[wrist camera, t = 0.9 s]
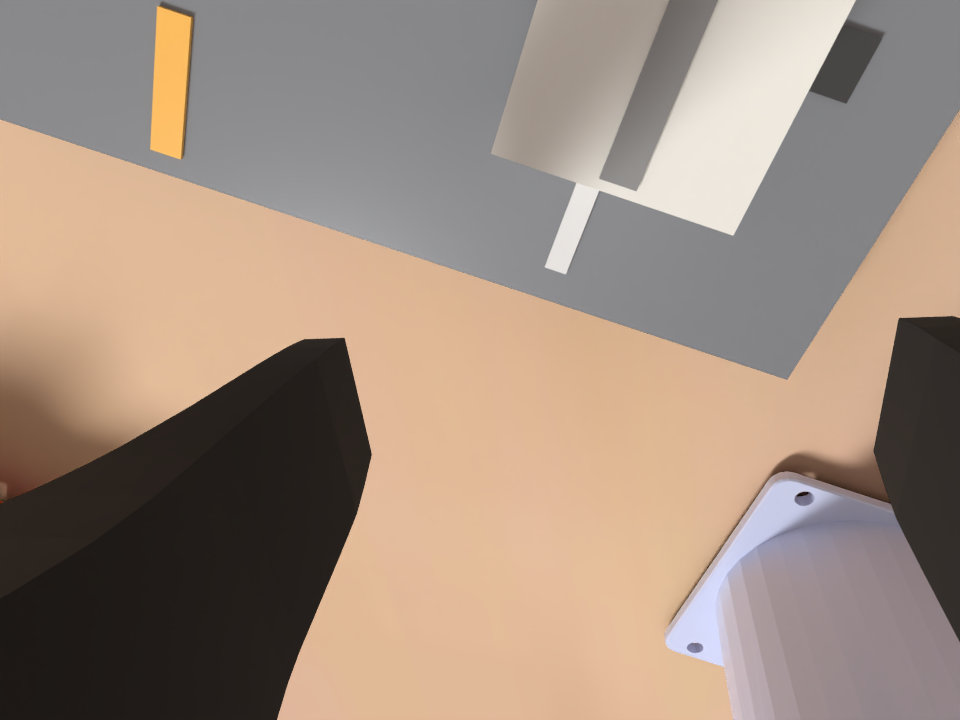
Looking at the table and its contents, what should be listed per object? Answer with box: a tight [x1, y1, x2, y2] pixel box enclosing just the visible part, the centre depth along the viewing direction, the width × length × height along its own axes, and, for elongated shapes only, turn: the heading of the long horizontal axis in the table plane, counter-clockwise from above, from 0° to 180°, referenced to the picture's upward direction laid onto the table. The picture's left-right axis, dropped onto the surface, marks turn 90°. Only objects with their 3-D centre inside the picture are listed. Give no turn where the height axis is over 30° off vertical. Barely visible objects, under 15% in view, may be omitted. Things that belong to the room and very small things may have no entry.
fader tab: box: [491, 0, 856, 235], centre depth 12 cm, size 4×5×4 cm
